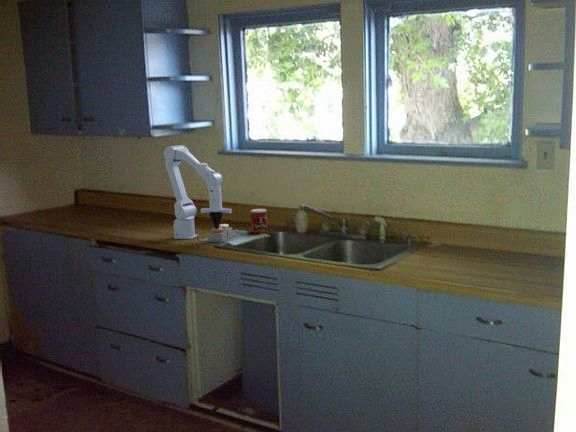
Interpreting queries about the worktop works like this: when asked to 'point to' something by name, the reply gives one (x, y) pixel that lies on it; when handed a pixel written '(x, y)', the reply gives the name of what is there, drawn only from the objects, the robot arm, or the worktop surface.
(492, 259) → the worktop surface
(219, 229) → the red plug
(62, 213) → the worktop surface
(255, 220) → the canned food
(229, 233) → the socket board
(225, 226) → the cream plug
